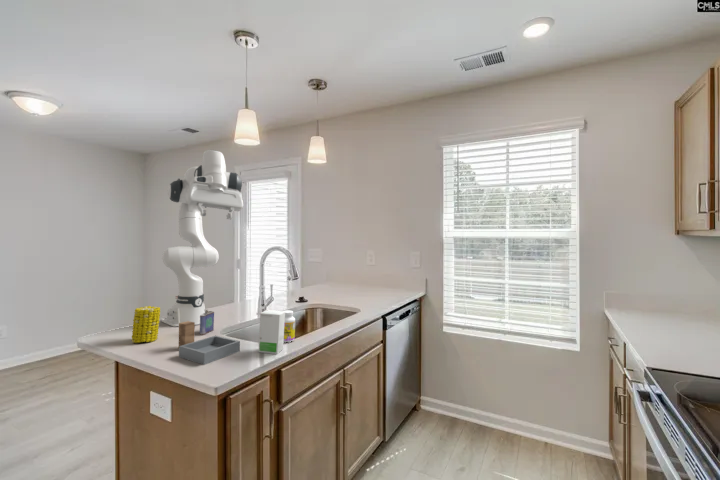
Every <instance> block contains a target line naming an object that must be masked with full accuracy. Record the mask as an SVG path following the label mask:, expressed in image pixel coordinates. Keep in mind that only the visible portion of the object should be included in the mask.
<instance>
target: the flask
mask: <svg viewBox="0 0 720 480" xmlns="http://www.w3.org/2000/svg"><path fill="white" fill-rule="evenodd" d="M204 311H205V313H204V314H202V315H200V324H199V335H200V336H204V335H205V336H206V335H207V334H209V333H211V332H213V331H214V328H215V327H214V326H215V325H214V323H215V311H213V310H209V309H207V308H205V310H204Z"/></svg>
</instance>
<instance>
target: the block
mask: <svg viewBox="0 0 720 480" xmlns="http://www.w3.org/2000/svg"><path fill="white" fill-rule="evenodd" d="M195 326H196V325H195V322H190V321H186V322H182V323H179V326H178V347H179V346H182V345H185V344H188V343H192V342H195Z"/></svg>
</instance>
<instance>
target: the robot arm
mask: <svg viewBox="0 0 720 480" xmlns="http://www.w3.org/2000/svg"><path fill="white" fill-rule="evenodd" d="M242 186H243V181H242V178H241V177H240V176H239V174H238V173H237V172H233V171H232V172H229V171H227V165H226V159H225V156H224V154H223V152H221V151H219V150H216V149H207V150H204V152H203V154H202V161H201V165H199V166H197V165H196V166H191V167H189V168H188V169H187V170H186V171H185V172H184V177H183V179H181V178H177V179H176V180H173V181H172V182H171V183H169V186H168V187H167V195H168V197H169V199H170V201H171V202H174V203H181V204H180V206H179V210H178V234H179V236H180V238H182V240H185V241H187V242H189V243H190V244H191V246H189V245H187V246H186V245H185V246H184V245H183V246H182V245H180V246H178V245H175V246H171V247H167V248H165V250H164V251H163V252H162V253H163V254H162V258H161V259H162V262H163V264H164V265H165V266H166V267H167V268H169V270H171V271H172V272H173V273H174V275H175V276H176V279H177V281H178V295H175V298H176V301H175V302H176V303H174V304H173V305H172V306H170V307H169V308H168V309H167V313H166V317H164V318H163V319H164V320H162V319H161V322H162V323H164V324H166V325H168V326H171V327H179V323H182V322H186V321H190V322H195V326H196V325H200V315H202V314H204V313H205V311H204V310H205V309H206V307H205V306H206V305H205V303H204V301H205V300H204V299H205V294H204V281H203V278H202V277H201V276H199V275H197V274H195V273H193V272H191V269H192V268H195V269H197V268H209V267H214V266H215V265H216V264H218V262H219V258H220V255H219V251H218V249H217V248H215V247H214V246H212V245H211V244H210V243H209V242H208V240H207V239H206V237H205V234H204V229H203V228H204V227H203V217H206V216H207V210H206V209H204V208H211V209H219V210H226V211H228V212H229V213H228V212H227V214H226V220H232V218H233V213H234V212H240V211H241V210H242V209H243V208H244V201H243V194H242V193H243V192H241V190H242ZM203 207H204V208H203Z"/></svg>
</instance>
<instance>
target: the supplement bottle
mask: <svg viewBox="0 0 720 480" xmlns="http://www.w3.org/2000/svg"><path fill="white" fill-rule="evenodd" d="M283 311H284V312H285V323H284V342H283V344H287V343H286V342H289V343H292V342H291V341H293V340H294V341H295V339H296V338H295V337H296V336H295V335H296V334H295V333H296V318H295V317H294V316H293V315H294V311H293V310H289V309H288V310H287V309H286V310H283ZM294 341H293V342H294Z"/></svg>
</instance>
